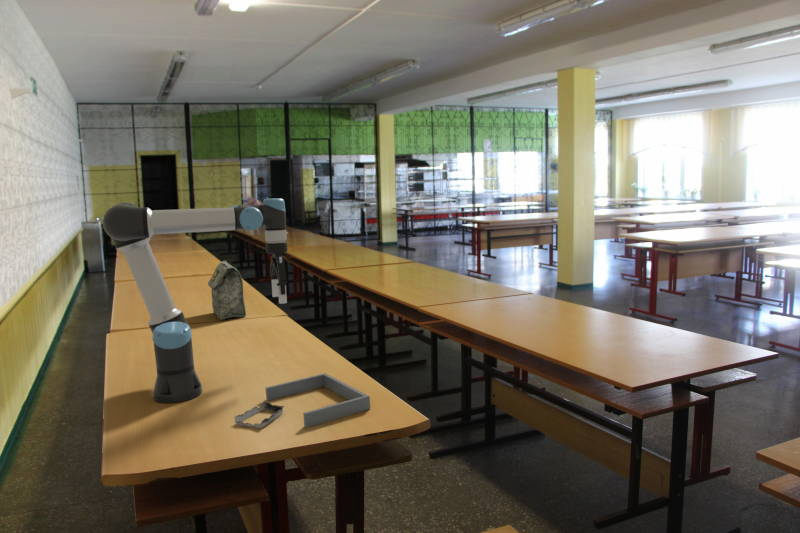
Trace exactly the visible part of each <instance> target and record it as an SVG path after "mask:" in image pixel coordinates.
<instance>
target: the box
mask: <svg viewBox="0 0 800 533" xmlns="http://www.w3.org/2000/svg"><path fill="white" fill-rule="evenodd" d="M323 387H325V388H326V387H327V388H326V389H328V388H329V389H328V390H330V391H332V392H334V393H335V394H338V395H339V396H341V397H343V398H344V399H347V400H345V401H342V402H337V403H334V404H330V405H326V406H323V407H320V408H316V409H312V410H309V411H306V412H302V414H303V425H304V428H310V427H313V426H317V425H320V424H323V423H327V422H330V421H335V420H337V419H340V418H344V417H347V416H351V415H355V414H357V413H362V412H364V411H368V410H371V398H370V397H371V396H370V395H368V394H366V393H365V392H362V391H361V390H359V389H357V388H354V387H353V386H350V385H349V384H347V383H346V382H343V381H341V380H340V379H337V378H335V377H333V376H331V375H329V374H328V373H326V372H325V373H320V374H316V375H312V376H308V377H303V378H299V379H296V380H291V381H287V382H284V383H279V384H276V385H271V386H266V387H265V397H266V398H265V400H266V401H267V402H269V401H272V400H276V399H280V398H283V397H287V396H291V395H297V394H299V393H304V392H307V390H308V391H311V389H312V390H315V388H316V389H318V388H319V389H320V388H323Z"/></svg>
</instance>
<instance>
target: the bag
mask: <svg viewBox="0 0 800 533" xmlns="http://www.w3.org/2000/svg"><path fill="white" fill-rule="evenodd" d="M207 286H209V287H210V288H211V301H212V302H211V304H212V310H213V313H214V314H215V316H216V317H217V319H218V320H219V321H224V320H226V319H231V318H245V317H246V316H247V312H246V304H245V294H244V283H243V278H242V275H241V273H240V271H239V270H238V269H237V268H236V267H234V266H232V265H231V264H230V263H229V262H227V260H223V261H221V262H220V263H219V264H217V265H216V268H215V269H214V272H213V273H212V276H211V278H210V279H209V281H208V283H207Z"/></svg>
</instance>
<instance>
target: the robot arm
mask: <svg viewBox="0 0 800 533" xmlns="http://www.w3.org/2000/svg"><path fill="white" fill-rule="evenodd" d="M262 201H263V202H262V204H245V205H242V204H241V205H240V204H238V205H231V206H229V207H211V208H210V207H209V208H208V207H206V208H183V209H182V208H181V209H154V210H152V209H151V208H149V207H144V206H143V207H142V206H141V207H138V206H136V205H135V204H133V203H131V202H130V203H129V202H121V203H117V204H114V205H112V207H110V208H108V209H107V210H106V211H105V213H104V214H103V218H102V227H103V230H104V232H105V233H106V235H107V236H109V237H110V238H111V240H112V243H113V244H114V247H115V250H118V251H120V252H122V253H123V256H124V258H125V260H126V263H127V264H128V267H129V270H130V272H131V274H132V277H133V279H134V281H135V283H136V286H137V288H138V291H139V293H140V295H141V297H142V301H143V302H144V305H145V307H146V310H147V312H148V314H149V316H150V319H149V320H148V323H147V324H148V326H149V328H150V329H149V330H150V331H151V334H152V342H153V348H154V350H153V351H154V357H155V367H156V378H155V382H154V387H153V390H152V395H153V400H154V401H155V402H157V403H161V404H162V403H163V404H164V403H165V404H173V403H182V402H185V401H189V400H192V399H194V398H196V397H198V396H200V395H201V394H202V393H203V387H202V383H201V381H200V378H199V376H198V373H197V371H196V369H195V361H194V353H193V352H194V350H193V349H194V348H193V338H192V336H193V334H192V329H191V327H190V326H191V325H190V324H188V321H187V320H186V317H185V315H184V313H183V311H182V309H179V308H177V307H176V305H175V303H174V301H173V299H172V296H171V294H170V291H169V289H168V288H169V287H168V286H167V284H166V282H165V279H164V277H163V274H162V272H161V269H160V266H159V264H158V262H157V259H156V257H155V254H154V252H153V250H152V247H151V245H150V241H151V239H152V237H153V236H154V235H161V234H162V235H163V234H164V235H166V234H167V235H169V234H185V233H202V232H204V233H205V232H221V231H222V232H223V231H224V232H225V231H256V230H258V229H259V228H261V227H264V236H265V237H264V240H265V252H266V253H267V254H270V255H269V256H270V267H269V268H270V271H269V276H270V278H271V293H272V294H271V295H272V298H278V304H280V305H281V304H282V305H284V304H287V303H288V297H287V285H288V280H287V272H286V264H285V256H283V255H282V254H285V253H288V243H287V238H288V236H287V235H289V232H288V231H287V216H286V215H287V214H286V212H287V211H286V204H285V199H283V198H279V197H278V198H264V199H263V200H262Z"/></svg>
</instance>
